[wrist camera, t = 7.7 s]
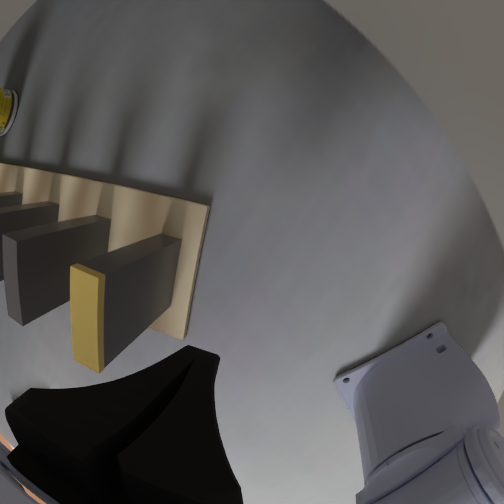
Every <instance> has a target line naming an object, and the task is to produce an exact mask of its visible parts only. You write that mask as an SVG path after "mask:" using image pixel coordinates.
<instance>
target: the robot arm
mask: <svg viewBox="0 0 504 504" xmlns="http://www.w3.org/2000/svg"><path fill="white" fill-rule="evenodd" d="M430 333H431V335H430V336H429V337H427V335H428V334H430ZM219 361H220V357H219V356H218V355H217V354H214V353H211V352H208V351H205V350H202V349H199V348H196V347H193V346H190V345H187V346H185V347H183V348H182V349H180V350H178V351H177V352H175V353H173V354H172V355H170V356H168V357H167V358H165V359H163V360H161V361H159V362H157V363H155V364H153V365H152V366H150V367H147V368H145V369H143V370H141V371H138V372H136V373H134V374H131V375H129V376H126V377H123V378H120V379H117V380H114V381H110V382H106V383H101V384H97V385H92V386H86V387H78V388H67V389H39V388H30V389H29V390H27V391H26V392H25V393H23V394H22V395H21V396H20V397H18V398H17V399H16V400H15V401H14V402H12V403H11V404H10V405H9V406H8V407H7V408H6V409H5V415H6V419H7V422H8V424H9V426H10V428H11V430H12V432H13V434H14V436H15V438H16V440H17V442H18V444H19V445H18V446H17V447H16V448H15V449H14V450H13V451H12V452H11V451H10V450H8V449H7V448H6V447H5V446H4V445H3V444H2V443H1V442H0V504H39V503H38V502H37V501H36V500H34V499H33V498H32V497H30V496H29V495H28V494H27V493H26V492H25V490H24V488H23V487H22V485H24V486H25V487H26V488H27V489H28V490H30V491H31V492H32V493H34V494H35V495H36V496H37V497H39V498H40V499H41V500H43V501H44V502H46V503H47V504H243V499H242V493H241V487H240V485H239V483H238V481H237V479H236V477H235V475H234V473H233V471H232V469H231V466H230V464H229V461H228V459H227V456H226V453H225V450H224V447H223V444H222V440H221V437H220V433H219V428H218V423H217V418H216V410H215V398H214V383H215V378H216V374H217V370H218V366H219ZM344 378H349V379H347V380H343V379H344ZM333 382H334V386H335V387H336V389H337V391H338V392H339V394H340V396H341V397H342V399H343V401H344V403H345V404H346V406H347V408H348V409H349V411H350V413H351V414H352V416H353V418H354V419H355V421H356V426H357V433H358V439H359V446H360V453H361V460H362V468H363V476H364V484H365V487H364V488H363V490H362V491H360V492H359V493H357V494H356V504H504V438H503V437H502V436H501V435H500V434H499V433H498V432H497V430H498V428H499V425H500V424H499V423H500V417H499V411H498V406H497V402H496V399H495V396H494V394H493V392H492V389H491V387H490V385H489V383H488V381H487V380H486V378H485V376H484V375H483V373H482V372H481V370H480V369H479V368H478V367H477V365H476V364H475V363H474V362H473V361H472V359H471V358H470V357H469V356H468V355H467V353H466V352H465V351H464V350H463V349H462V347H461V346H460V345H459V344H458V343H457V342H456V341H455V339H454V338H453V337H452V336H451V335H450V334H449V333H448V330H447V327H446V324H445V323H444V322H442V321H440V322H438V323H436V324H434V325H433V326H431V327H430V328H428V329H426V330H425V331H423V332H421V333H420V334H418V335H416V336H415V337H413V338H411V339H409V340H408V341H406V342H404V343H402V344H400V345H399V346H397V347H395V348H393V349H391V350H389V351H388V352H386V353H384V354H382V355H380V356H378V357H376V358H374V359H372V360H370V361H368V362H366V363H364V364H362V365H360V366H358V367H356V368H354V369H352V370H349V371H347V372H345V373H343V374H341V375H339V376H337V377H335V378H334V381H333ZM15 478H16V479H17V480H18V481H19V482H20V483H21V484H22V485H21V484H20V483H19V482H18V481H17V480H16V479H15Z"/></svg>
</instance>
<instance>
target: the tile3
mask: <svg viewBox="0 0 504 504" xmlns="http://www.w3.org/2000/svg"><path fill="white" fill-rule="evenodd" d="M58 214H59V204H57V203H53V202H50V201H45V202H37V203H29V204H22V205H15V206H8V207H2V208H0V281H2V280H4V269H3V243H2V234H5V233H9V232H13V231H18V230H22V229H26V228H31V227H36V226H40V225H45V224H50V223H55V222H58Z"/></svg>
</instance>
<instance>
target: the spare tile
mask: <svg viewBox="0 0 504 504" xmlns="http://www.w3.org/2000/svg"><path fill="white" fill-rule="evenodd" d="M181 243H182V239H179V238H175V237H172V236H168V235H165V234H162V233H161V234H158V235H155V236H152V237H149V238H146V239H143V240H141V241H138V242H135V243H132V244H129V245H127V246H124V247H121V248H118V249H116V250H113V251H110V252H108V253H105V254H102V255H100V256H97V257H94V258H92V259H89V260H86V261H84V262H81V263H79V264H78V263H77V264H74V265H72V266H70V314H71V333H72V346H73V356H74V360H75V361H77V362H79V363H81V364H82V365H84V366H86V367H88V368H89V369H91V370H93V371H95V372H97V373H98V374H99V373H100V372H101V371H103V370H104V368H105V367H106V366H107V365H108V364H109V363H110V362H111V361H112V360H113V359H114V358H115V357H117V356H118V355H119V354H120V353H121V352H122V351H123V350H124V349H125V348H126V347H127V346H128V345H129V344H130V343H132V342H133V341H134V340H135V339H136V338H137V337H138V336H139V335H140V334H141V333H142V332H143V331H144V330H146V329H147V328H148V327H149V326H150V325H151V324H152V323H153V322H154V321H155V320H156V319H157V318H159V317H160V316H161V315H162V314H163V313H164V312H165V311H166V310H167V309H168V308H169V307H170V306H171V302H172V295H173V289H174V282H175V276H176V270H177V265H178V259H179V253H180V248H181Z"/></svg>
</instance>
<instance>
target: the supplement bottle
mask: <svg viewBox="0 0 504 504" xmlns="http://www.w3.org/2000/svg"><path fill="white" fill-rule="evenodd" d="M17 105H18V98H17V94H16V93H15V91H13V90H10V89H4V88H0V136H2V135H4V134H5V133H6V132H7V131H8V130H9V128H10V127H11V125H12V123H13V121H14V118H15V115H16V111H17Z"/></svg>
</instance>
